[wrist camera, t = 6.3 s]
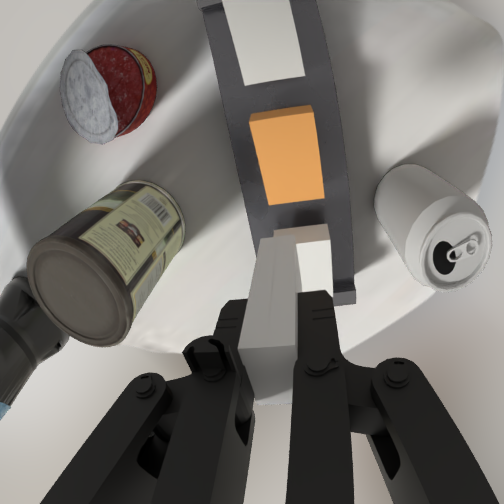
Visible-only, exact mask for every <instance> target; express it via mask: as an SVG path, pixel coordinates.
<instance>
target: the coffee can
mask: <svg viewBox="0 0 504 504" xmlns="http://www.w3.org/2000/svg"><path fill="white" fill-rule="evenodd" d="M184 236H185V223H184V218H183V215H182V212H181V210H180V208H179V206H178V205H177V203H176V202H175V200H174V199H173V198H172V197H171V196H170V195H169V194H168V193H167V192H166V191H165V190H164V189H162V188H161V187H159V186H157V185H155V184H153V183H150V182H146V181H138V180H137V181H129V182H126V183H124V184H121V185H120V186H118V187H117V188H116V189H115V190H113V191H112V192H110V193H109V194H107V195H106V196H104V197H103V198H101V199H100V200H98V201H97V202H95V203H94V204H93V205H91V206H90V207H88V208H87V209H85V210H84V211H82V212H81V213H80V214H78V215H77V216H75V217H74V218H72V219H71V220H70V221H68V222H67V223H66V224H64V225H63V226H61V227H60V228H58V230H56V231H55V232H54V233H52V234H51V235H50V236H48V237H46V238H44V239H42V240H40V241H39V242H38V243H36V244H35V245H34V246H33V248H32V249H31V251H30V252H29V255H28V258H27V276H28V281H29V284H30V287H31V290H32V292H33V295H34V297H35V299H36V300H37V302H38V304H39V305H40V307H41V308H42V310H43V311H44V312H45V314H46V315H47V316H48V317H49V318H50V319H51V321H52V322H53V323H54V324H55V325H56V326H58V327H59V328H60V329H61V330H62V331H64V332H65V333H66V334H68V335H69V336H71V337H73V338H74V339H77V340H78V341H80V342H83V343H85V344H88V345H91V346H96V347H111V346H115V345H117V344H119V343H120V342H122V341H123V340H124V339H125V337H126V336H127V334H128V332H129V330H130V328H131V325H132V322H133V321H134V319H135V317H136V316H137V314H138V312H139V311H140V309H141V308H142V306H143V304H144V303H145V301H146V299H147V298H148V296H149V295H150V293H151V292H152V290H153V288H154V287H155V285H156V284H157V282H158V281H159V279H160V277H161V276H162V274H163V273H164V271H165V270H166V268H167V267H168V265H169V264H170V262H171V261H172V259H173V257H174V256H175V255H176V254H177V253H178V251H179V250H180V248H181V246H182V244H183V241H184Z"/></svg>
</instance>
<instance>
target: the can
mask: <svg viewBox="0 0 504 504" xmlns="http://www.w3.org/2000/svg"><path fill="white" fill-rule="evenodd" d="M374 209H375V212H376V215H377V218H378V220H379V222H380V223H381V225H382V226H383V228H384V230H385V231H386V233H387V235H388V236H389V238H390V239H391V241H392V243H393V244H394V246H395V248H396V250H397V251H398V253H399V255H400V256H401V258H402V260H403V262H404V263H405V265H406V267H407V269H408V270H409V272H410V273H411V275H412V276H413V278H414V279H415V280H416V281H418V282H419V283H421V284H422V285H423V286H427V287H431V288H432V289H434V290H436V291H440V292H452V291H457V290H459V289H461V288H464V287H466V286H467V285H468V284H470V283H471V282H472V281H473V280H475V279H476V278H477V277H478V276H479V274H480V273H481V272H482V271H483V270H484V268H485V266H486V264H487V262H488V259H489V257H490V253H491V248H492V234H491V231H490V229H489V226H488V220H487V218H486V216H485V213H484V211H483V209H482V208H481V207H480V206H479V205H478V204H477V203H476V202H475V201H474V200H473V199H471V198H470V197H469V196H467V195H466V194H464V193H463V192H461V191H460V190H459V189H457V188H456V187H454V186H453V185H451V184H450V183H448V182H447V181H445V180H444V179H442V178H441V177H439V176H438V175H436V174H435V173H433V172H431V171H430V170H428V169H427V168H425V167H422V166H419V165H417V164H404V165H401V166H398V167H396V168H394V169H392V170H391V171H390V172H388V173H387V174H386V175H385V176H384V177H383V179H382V180H381V182H380V183H379V185H378V187H377V190H376V193H375V197H374Z"/></svg>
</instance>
